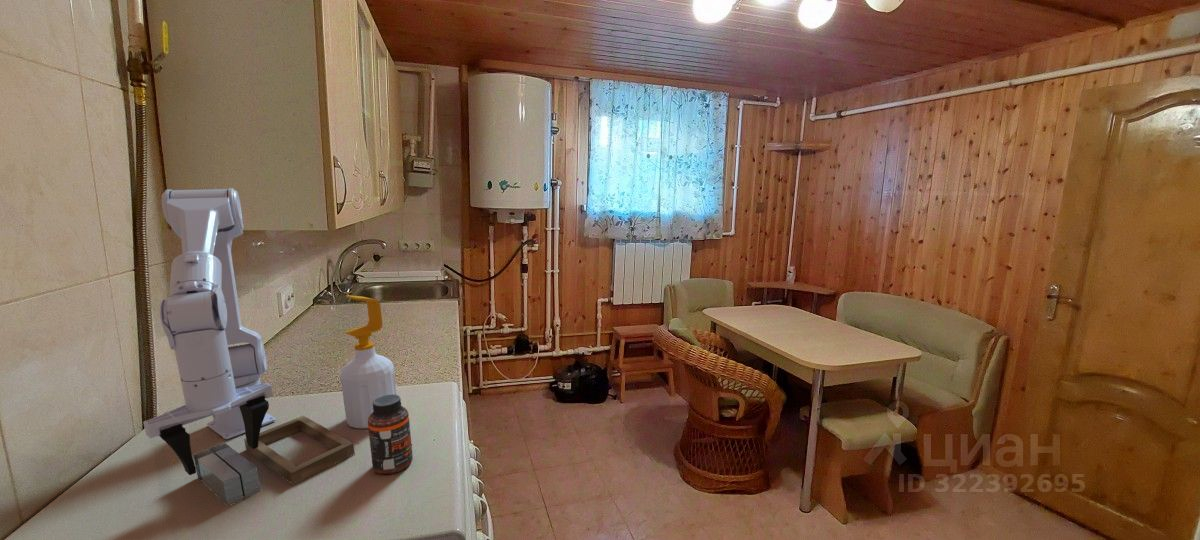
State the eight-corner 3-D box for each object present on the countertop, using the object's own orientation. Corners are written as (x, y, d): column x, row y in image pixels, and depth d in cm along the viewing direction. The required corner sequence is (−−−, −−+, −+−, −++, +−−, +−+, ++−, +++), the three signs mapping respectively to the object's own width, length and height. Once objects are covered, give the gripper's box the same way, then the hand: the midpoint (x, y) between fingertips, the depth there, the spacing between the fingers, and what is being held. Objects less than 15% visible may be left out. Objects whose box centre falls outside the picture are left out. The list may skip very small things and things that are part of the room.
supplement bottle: (398, 478, 71) (390, 410, 69) (364, 474, 72) (355, 407, 70) (420, 455, 77) (414, 392, 74) (389, 452, 78) (381, 389, 76)
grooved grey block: (197, 478, 72) (193, 454, 71) (229, 464, 75) (224, 442, 74) (227, 506, 65) (222, 481, 65) (260, 491, 69) (256, 466, 68)
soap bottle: (337, 421, 88) (320, 296, 84) (382, 402, 96) (369, 286, 91) (362, 435, 83) (345, 303, 79) (408, 413, 91) (395, 292, 86)
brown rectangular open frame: (246, 449, 79) (244, 439, 79) (304, 425, 87) (303, 415, 87) (293, 484, 70) (291, 473, 69) (354, 454, 77) (353, 443, 77)
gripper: (147, 400, 59) (168, 495, 61) (275, 362, 70) (288, 443, 73) (131, 387, 63) (152, 477, 65) (256, 353, 74) (269, 430, 77)
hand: (223, 458), depth 69 cm, fingers open, 7 cm apart
